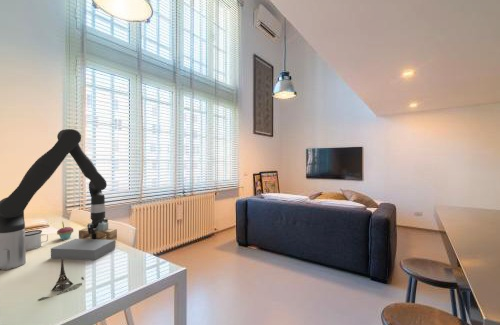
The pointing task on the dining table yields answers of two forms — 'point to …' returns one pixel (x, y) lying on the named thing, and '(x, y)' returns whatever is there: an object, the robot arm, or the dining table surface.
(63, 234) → the cupcake
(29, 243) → the mug
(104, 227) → the crate
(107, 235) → the brown wooden box
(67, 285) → the eiffel tower figurine
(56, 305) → the dining table surface
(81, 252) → the dock
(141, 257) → the dining table surface
